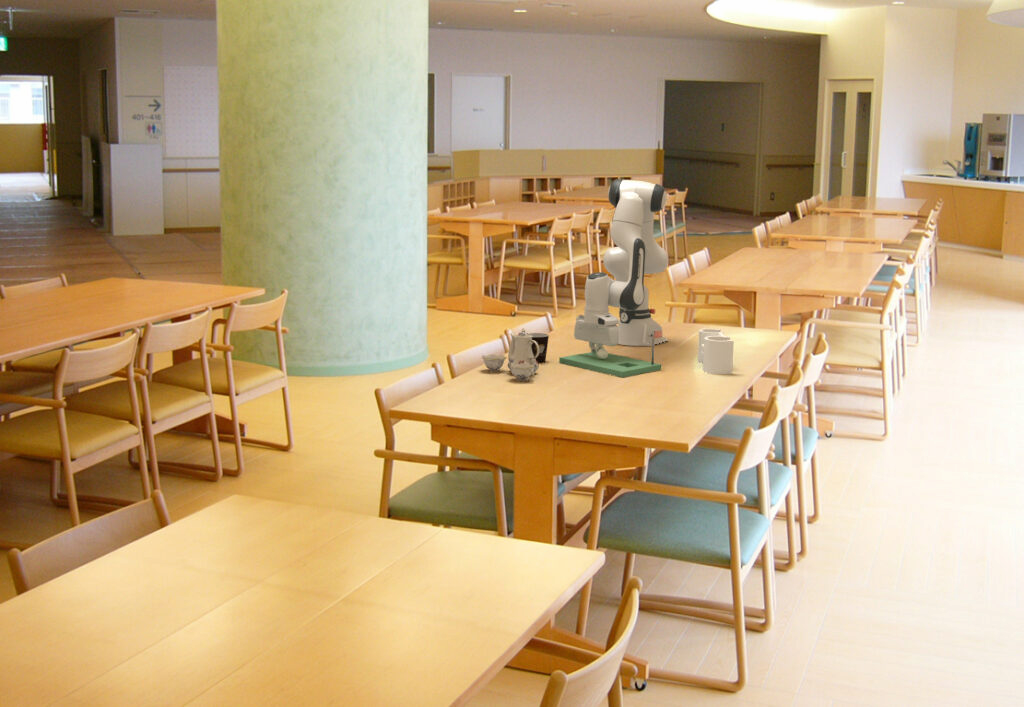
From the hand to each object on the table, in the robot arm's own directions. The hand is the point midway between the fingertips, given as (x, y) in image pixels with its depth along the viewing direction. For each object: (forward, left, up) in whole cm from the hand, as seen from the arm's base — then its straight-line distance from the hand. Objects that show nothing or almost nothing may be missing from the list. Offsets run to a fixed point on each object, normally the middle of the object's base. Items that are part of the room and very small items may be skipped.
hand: (595, 354), depth 407 cm
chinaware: (+35, -4, -4) cm, 35 cm away
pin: (-10, +21, -1) cm, 23 cm away
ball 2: (0, +3, +1) cm, 4 cm away
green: (0, +7, -3) cm, 8 cm away
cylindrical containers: (-29, +32, -4) cm, 43 cm away
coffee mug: (+16, -17, -3) cm, 23 cm away
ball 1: (-8, -6, +1) cm, 10 cm away
